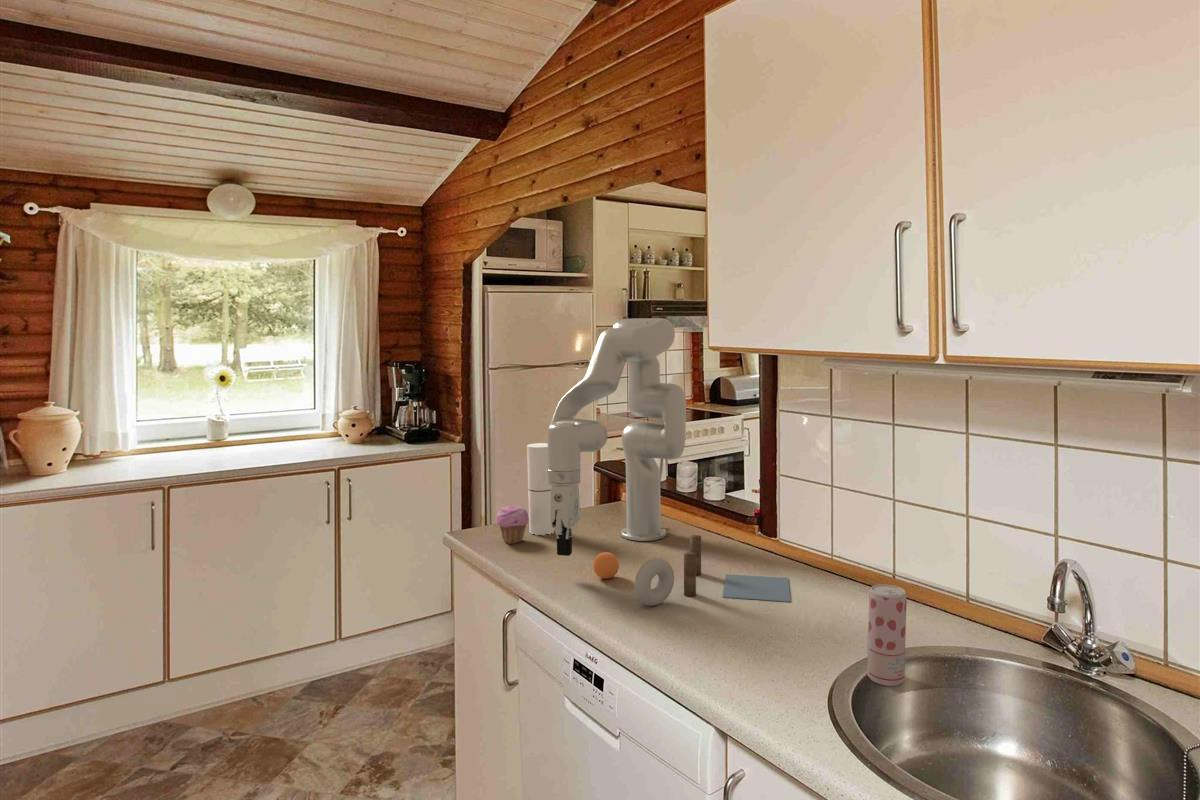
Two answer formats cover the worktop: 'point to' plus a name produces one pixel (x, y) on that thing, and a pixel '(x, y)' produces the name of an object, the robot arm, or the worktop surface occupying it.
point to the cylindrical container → (538, 489)
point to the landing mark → (756, 588)
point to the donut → (645, 578)
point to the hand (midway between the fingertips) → (564, 554)
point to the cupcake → (512, 523)
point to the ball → (606, 565)
